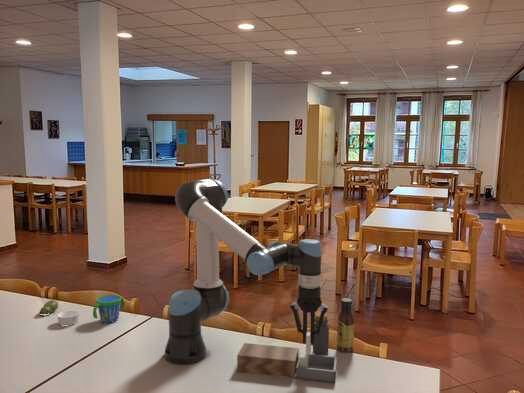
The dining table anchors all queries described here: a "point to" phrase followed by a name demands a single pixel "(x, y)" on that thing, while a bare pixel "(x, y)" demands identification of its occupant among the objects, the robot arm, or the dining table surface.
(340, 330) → the sauce bottle
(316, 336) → the bottle
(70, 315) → the ramekin
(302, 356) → the tile
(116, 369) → the dining table surface
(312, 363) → the box
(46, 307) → the pear
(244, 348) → the brown wooden block
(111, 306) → the snack cup
